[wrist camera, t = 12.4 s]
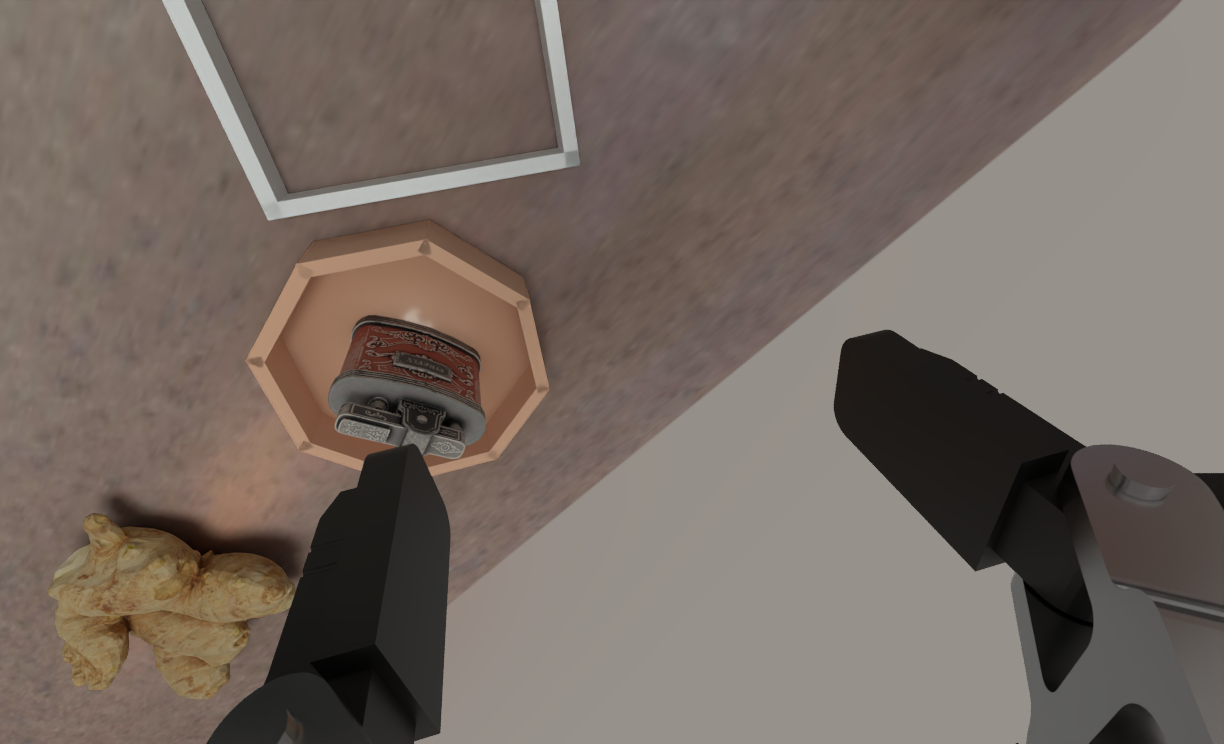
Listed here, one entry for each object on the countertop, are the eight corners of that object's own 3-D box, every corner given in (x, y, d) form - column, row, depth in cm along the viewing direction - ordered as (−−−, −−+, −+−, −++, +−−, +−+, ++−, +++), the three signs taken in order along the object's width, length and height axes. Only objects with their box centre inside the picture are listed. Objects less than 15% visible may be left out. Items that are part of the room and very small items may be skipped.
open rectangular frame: (530, -127, 24) (536, -142, 22) (573, 159, 31) (580, 165, 29) (137, -93, 21) (110, -106, 20) (279, 211, 28) (268, 220, 26)
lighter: (488, 347, 34) (499, 437, 26) (469, 387, 36) (474, 485, 27) (361, 304, 31) (327, 392, 23) (345, 350, 32) (307, 450, 24)
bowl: (506, 204, 31) (512, 221, 28) (553, 410, 39) (562, 442, 36) (227, 256, 29) (197, 281, 25) (340, 463, 37) (329, 503, 34)
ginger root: (152, 457, 32) (111, 578, 27) (353, 533, 44) (352, 627, 38) (-28, 578, 34) (-101, 714, 28) (212, 620, 45) (193, 722, 40)
